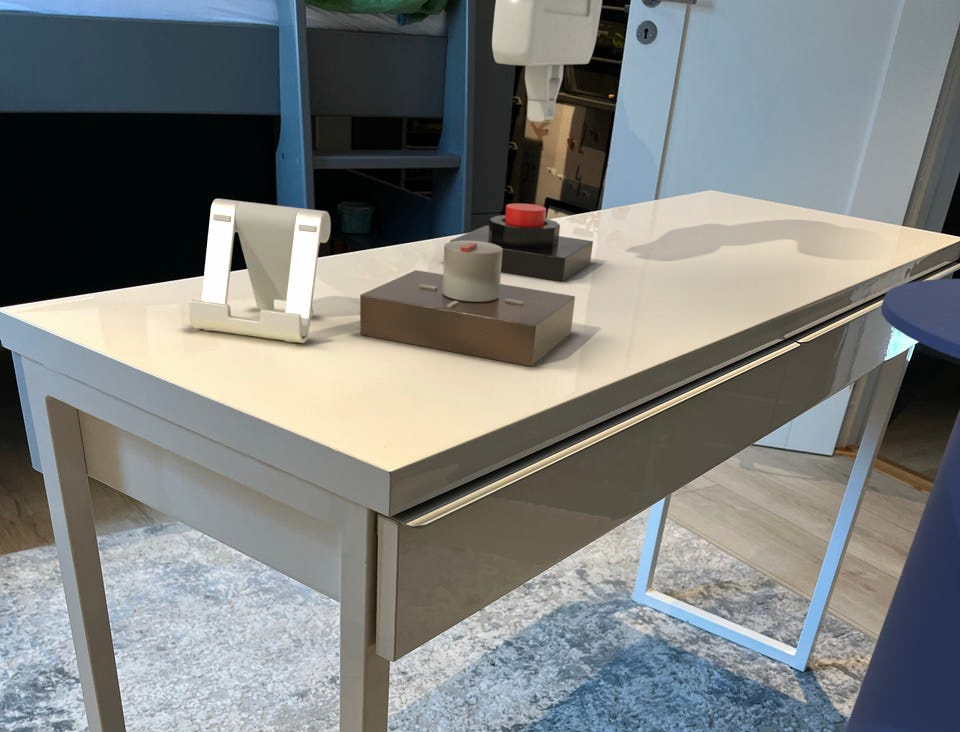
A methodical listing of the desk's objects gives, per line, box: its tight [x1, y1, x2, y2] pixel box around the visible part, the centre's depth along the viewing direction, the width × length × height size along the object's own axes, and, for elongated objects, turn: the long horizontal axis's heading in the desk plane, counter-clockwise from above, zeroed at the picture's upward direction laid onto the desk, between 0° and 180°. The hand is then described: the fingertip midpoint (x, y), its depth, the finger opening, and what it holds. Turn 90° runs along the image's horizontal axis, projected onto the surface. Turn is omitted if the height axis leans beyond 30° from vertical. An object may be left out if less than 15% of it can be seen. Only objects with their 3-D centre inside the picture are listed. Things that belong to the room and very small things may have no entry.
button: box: [504, 202, 547, 226], centre depth 96 cm, size 4×4×2 cm
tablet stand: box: [188, 198, 332, 344], centre depth 71 cm, size 9×8×8 cm
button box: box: [449, 214, 594, 282], centre depth 97 cm, size 12×10×4 cm
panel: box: [359, 269, 576, 367], centre depth 75 cm, size 14×10×3 cm
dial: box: [442, 241, 503, 302], centre depth 73 cm, size 4×4×4 cm
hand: (540, 120), depth 91 cm, fingers closed
